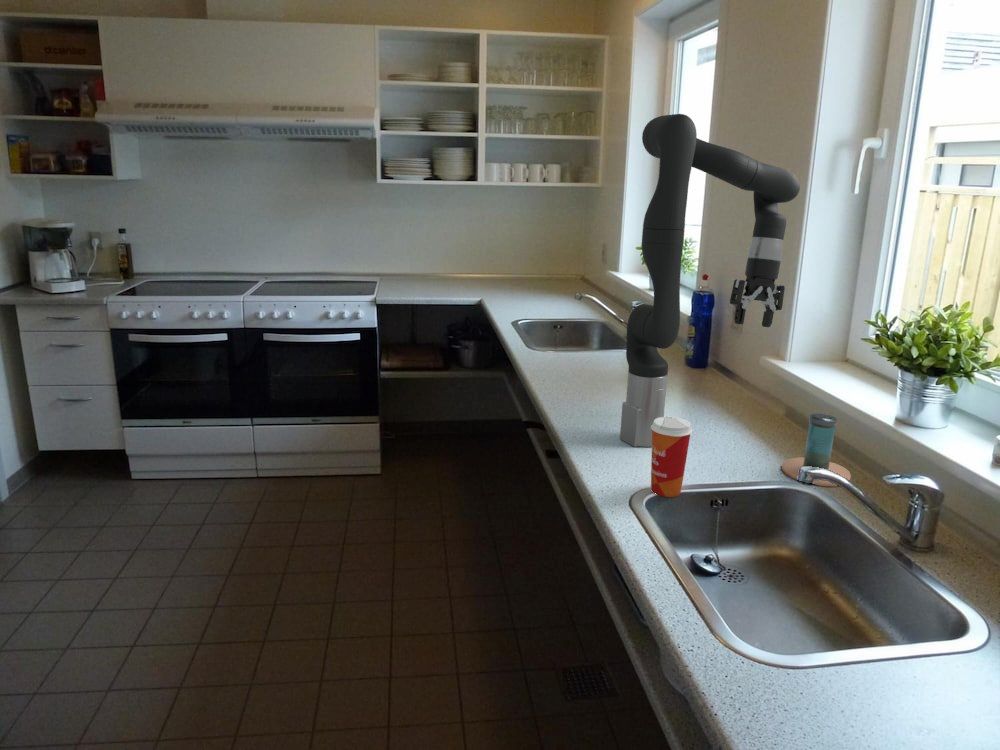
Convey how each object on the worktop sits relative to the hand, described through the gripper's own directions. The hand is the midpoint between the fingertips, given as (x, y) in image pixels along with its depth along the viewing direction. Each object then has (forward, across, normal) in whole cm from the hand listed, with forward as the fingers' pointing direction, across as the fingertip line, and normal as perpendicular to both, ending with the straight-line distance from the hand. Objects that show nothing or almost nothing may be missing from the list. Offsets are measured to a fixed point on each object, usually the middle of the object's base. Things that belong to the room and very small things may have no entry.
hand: (752, 325), depth 178 cm
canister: (+29, +3, -23) cm, 37 cm away
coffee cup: (+35, -33, -19) cm, 52 cm away
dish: (+30, +4, -23) cm, 38 cm away
